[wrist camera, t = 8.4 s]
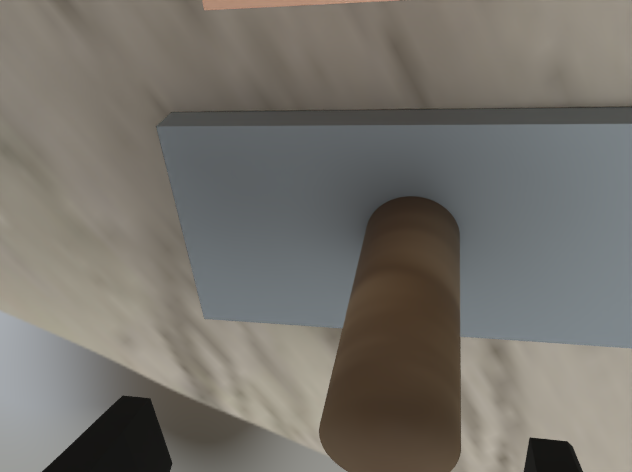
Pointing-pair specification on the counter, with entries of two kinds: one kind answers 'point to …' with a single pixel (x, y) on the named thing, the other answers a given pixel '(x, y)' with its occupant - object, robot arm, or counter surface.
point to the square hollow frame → (271, 3)
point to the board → (421, 181)
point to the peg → (400, 347)
